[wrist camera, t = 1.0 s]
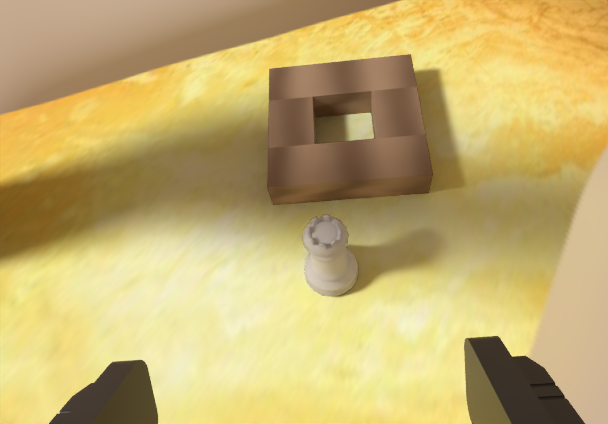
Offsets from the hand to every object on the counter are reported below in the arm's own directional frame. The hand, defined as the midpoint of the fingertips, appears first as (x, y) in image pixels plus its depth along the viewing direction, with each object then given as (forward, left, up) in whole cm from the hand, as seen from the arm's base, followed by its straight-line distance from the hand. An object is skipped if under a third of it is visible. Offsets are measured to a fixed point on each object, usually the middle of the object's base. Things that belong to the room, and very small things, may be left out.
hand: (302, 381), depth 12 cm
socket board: (+2, +27, -25) cm, 37 cm away
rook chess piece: (0, +13, -25) cm, 28 cm away
